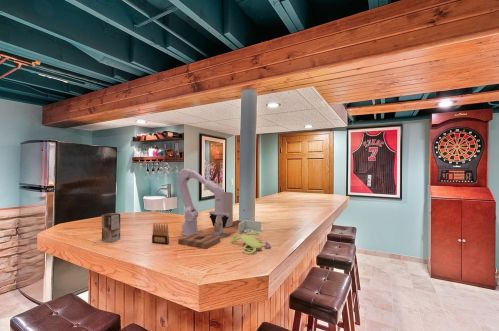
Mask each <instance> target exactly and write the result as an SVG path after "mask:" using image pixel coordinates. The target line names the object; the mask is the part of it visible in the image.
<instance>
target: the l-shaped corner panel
mask: <svg viewBox="0 0 499 331" xmlns="http://www.w3.org/2000/svg"><path fill="white" fill-rule="evenodd" d="M237 224H238V225H237V226H238V228H237V229H238V230H237V231H238V232H237V234H238V235H241V234H242V233H243V234H244V235H246V234H247V233H249V232H259V233H260V232H262V221H259V220H250V219H249V220H248V219H244V220H242V221H241V222H239V223H237Z"/></svg>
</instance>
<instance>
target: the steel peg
mask: <svg viewBox="0 0 499 331" xmlns="http://www.w3.org/2000/svg"><path fill="white" fill-rule="evenodd" d="M213 227H214V228H213V230H214V231H213V233H214V235H216V236H221V235H223V233H224V228H223V222H216V223H214V226H213Z"/></svg>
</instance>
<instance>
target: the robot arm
mask: <svg viewBox="0 0 499 331" xmlns="http://www.w3.org/2000/svg"><path fill="white" fill-rule="evenodd" d="M190 179H195V180H197V181H198V182H200V183H201V184H202V185H204V188H205V189H206V190H208V191H210V192H211V193H213V196H214V211H212V210H211V211H209V212H208V213H209V214H208V215H209V218H210V220H211V223H212V226H213V227H214V223H216V216H217V215H219V216H223V217H222V222H223V229H224V228H226V227H225V226H226V222H227V220H228V218H229V213H225V212H224V199H223V194H224V192H225V189H224V188H223V187H221V186H220V185H217V184H216V183H215V181H214V180H208V179H206V178H204V177H203V176H202V175H201V174H200V173H199V172H197V171H196V170H194V169H192V168H181V170H180V172H179V173H178V179H177V180H178V181H177V183H178V184H177V185H178V188H179V191H180V194H181V198H182V202H183V204H184V212H183V213H184V221H183V222H182V223H181V224H182V225H181V226H182V227H181V233H180V234H181V236H187V235H189V234H192V233H198V234H201V233H200V232H198V219H197V218H198V217H199V212H198V211H197V209H196V207H195V206H194V205H193V201H192V198H191V194H190V190H189V187H188V182H189V180H190Z"/></svg>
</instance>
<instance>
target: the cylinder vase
mask: <svg viewBox="0 0 499 331" xmlns="http://www.w3.org/2000/svg"><path fill="white" fill-rule="evenodd" d="M233 194H234V193H233V192H228V191H227V192H226V191H224V194H223V199H224V212H225V213H229V218H228V220H227V222H226V226H225V227H224V228H230V227H232V226H233V225H234V220H233V219H234V217H233V216H234V213H233V211H234V210H233V208H234V207H233V205H234V203H233V201H234V200H233V199H234V198H233V197H234V196H233ZM222 217H223V216H219V215H217V216H216V222H222Z"/></svg>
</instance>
